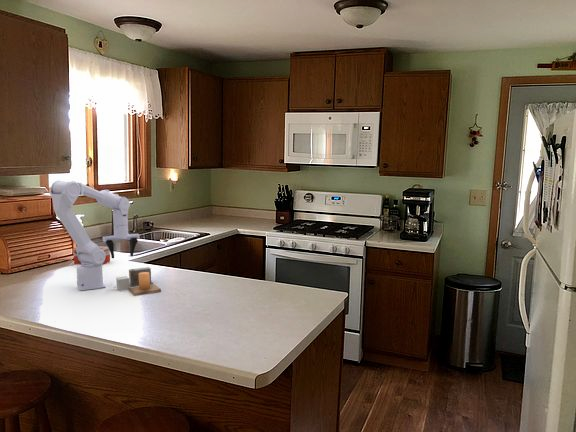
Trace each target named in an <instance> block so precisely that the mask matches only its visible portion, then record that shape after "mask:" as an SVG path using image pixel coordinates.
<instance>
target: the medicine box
mask: <svg viewBox="0 0 576 432" xmlns="http://www.w3.org/2000/svg"><path fill="white" fill-rule="evenodd" d="M98 247H99V248H100V249H102V250H103V251H104V252H105V255H106V257H105V261H104V262H103V265H105V264H108V263H111V253H110V250H109V248H108V246H99V245H98ZM76 248H77V246H75V247H73V255H72V256H73V263H74V265H82V264H81V262H80V261H79V259H78V254H77V252H76ZM107 262H108V263H107Z"/></svg>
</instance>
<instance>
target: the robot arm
mask: <svg viewBox="0 0 576 432" xmlns="http://www.w3.org/2000/svg"><path fill="white" fill-rule="evenodd" d="M48 193H49V195H50V196H51V198H52V207H53V211H54V213H55V215H56V216H57V218H58V219H59V220H60V223H61V224H62V225H63V227H64V229H65V231H67V233H68V235H69V236H70V238H71V239H72V241H73V242H74V244H75V246H76V247H77V248H76V247H75V248H76V252H77V254H78V259H79V261H80V262H81V264H80V266H77V267H76V286H77V288H78V290H79V291H86V290H87V291H89V290H93V289H94V290H95V289H102V288H106V284H105V283H104V281H103V280H104V277H103V265H104V264H103V262H104V261H105V257H106V255H105V252H104V251H103V250H102V249H100V248H99V247H98V246H99V245H98V244H97V243H95V242H94V241H93V240H91V238H90V237H89V234H88V233H87V232H86V230H85V229H84V227H83V225H82V224H81V222H80V220H79V219H78V217H77V216H76V214H75V212H74V211H73V209H72V207H73V206H74V204H75V202H76V200H77V199H78V198H79V197H80V196H85V197H89V198H91V199H96V202H97V204H100V205H102V206H105V207H108V208H110V209H111V210H112V220H113V221H112V222H113V235H106V236H102V242H104V243H105V244H106V245H107V246H106V247H108V248H109V250H110V258H111V259H115V250H114V249H115V248H114V246H115V244H114V242H115V241H126V240H127V241H128V240H129V241H128V242H129V254H130V257H134V252H135V248H136V246H137V244H138V240H140V234H139V233H129V220H128V218H129V217H128V214H129V209H130V206H131V202H130V200H129V199H128V198H127V197H126V196H120V195H119V194H118V193H113V192H110V189H103V190H100V191H99V190H97V189H95V188H93V187H90V186H88V185H86V184H84V183H82V182H77V181H74V180H70V181H66V180H65V181H64V180H56V181H53V182H52V184H51V186H50V189H49V192H48ZM113 241H114V242H113Z"/></svg>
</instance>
